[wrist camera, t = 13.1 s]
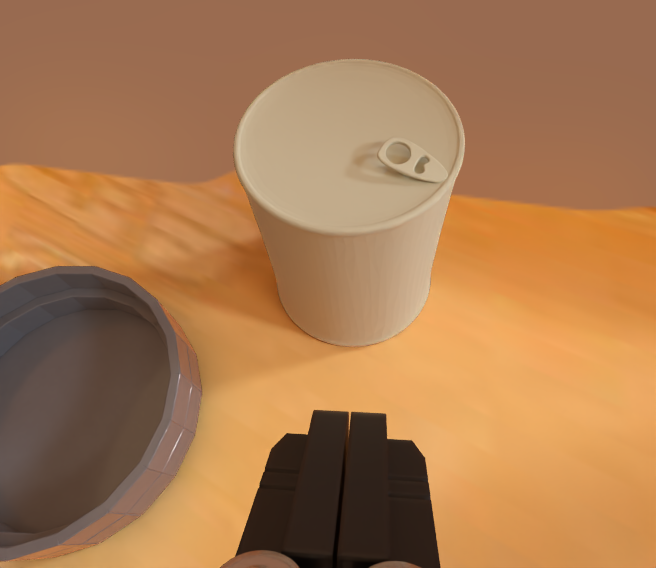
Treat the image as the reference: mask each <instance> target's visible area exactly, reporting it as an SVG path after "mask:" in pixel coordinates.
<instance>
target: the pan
mask: <svg viewBox="0 0 656 568" xmlns="http://www.w3.org/2000/svg"><path fill="white" fill-rule="evenodd" d="M201 392H202V388H201V381H200V375H199V368H198V362H197V356H196V353H195V351H194V350H193V348H192V346H191V344H190V342H189V341H188V339H187V337H186V335H185V333H184V332H183V330H182V328H181V326H180V325H179V324H178V323H177V322H176V320H175V319H174V318H173V317H172V316H171V315H170V314H169V313H168V311H167V310H166V309H165V308H164V307H163V306H162V305H161V304H160V302H159V301H158V300H157V299H156V298H155V297H153V296H152V295H151V294H150V293H148V292H147V291H146V290H145V289H143V288H142V287H141V286H140V285H139V284H137V283H136V282H135V281H134V280H132V279H131V278H129V277H126V276H123V275H120V274H117V273H114V272H111V271H108V270H105V269H102V268H99V267H95V266H56V267H52V268H48V269H44V270H41V271H37V272H33V273H29V274H25V275H22V276H18V277H15V278H13V279H12V280H10V281H8V282H6V283H4V284H2V285H0V561H17V560H30V559H42V558H54V557H58V556H61V555H65V554H68V553H71V552H74V551H78V550H81V549H84V548H88V547H91V546H94V545H97V544H99V543H101V542H103V541H104V540H106V539H107V538H109V537H110V536H112V535H113V534H115V533H116V532H118V531H119V530H121V529H122V528H124V527H125V526H127V525H128V524H130V523H131V522H133V521H134V520H136V519H137V518H139V517H140V516H141V515H143V514H144V513H145V511H146V510H147V509H148V508H149V507H150V506H151V504H152V503H153V502H154V501H155V500H156V499H157V497H158V496H159V495H160V494H161V493H162V492H163V490H164V489H165V488H166V487H167V486H168V485H169V483H170V482H171V481H172V480H173V479H174V476H176V474H177V472H178V470H179V467H180V465H181V463H182V461H183V459H184V457H185V455H186V453H187V451H188V449H189V446H190V444H191V442H192V440H193V438H194V436H195V432H196V426H197V420H198V414H199V408H200V402H201V396H202V393H201Z"/></svg>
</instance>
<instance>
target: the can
mask: <svg viewBox="0 0 656 568" xmlns="http://www.w3.org/2000/svg"><path fill="white" fill-rule="evenodd" d="M464 150H465V136H464V131H463V126H462V123H461V120H460V117H459V115H458V113H457V111H456V109H455V107H454V106H453V104H452V103H451V102H450V100H449V99H448V98H447V96H446V95H445V94H444V93H443V92H442V91H441V90H440V89H439V88H438V87H436V86H435V85H434V84H433V83H431V82H430V81H428V80H427V79H425V78H424V77H422V76H421V75H418V74H416V73H415V72H413V71H411V70H408V69H405V68H403V67H400V66H397V65H394V64H390V63H386V62H381V61H374V60H365V59H344V60H333V61H327V62H322V63H318V64H314V65H311V66H308V67H304V68H302V69H299V70H296V71H294V72H292V73H290V74H287V75H286V76H284V77H282V78H280V79H279V80H277V81H276V82H274V83H273V84H271V85H270V86H268V87H267V88H266V89H265V90H263V91H262V92H261V93H260V94H259V95H258V96H257V97H256V98H255V99H254V100H253V102H252V103H251V104H250V105H249V107H248V108H247V109H246V111H245V113H244V114H243V116H242V118H241V120H240V122H239V124H238V127H237V130H236V133H235V137H234V144H233V158H234V165H235V169H236V173H237V175H238V178H239V180H240V182H241V184H242V186H243V188H244V189H245V192H246V194H247V197H248V199H249V202H250V205H251V208H252V210H253V213H254V216H255V218H256V221H257V224H258V227H259V229H260V232H261V235H262V238H263V241H264V244H265V247H266V250H267V253H268V256H269V259H270V261H271V264H272V267H273V270H274V273H275V276H276V280H277V289H278V294H279V297H280V300H281V303H282V305H283V307H284V309H285V311H286V312H287V314H288V315H289V317H290V318H291V319H292V321H293V322H294V323H295V324H296V325H297V326H298V327H300V328H301V329H302V330H303V331H305V332H306V333H308V334H309V335H311V336H312V337H314V338H316V339H319V340H321V341H324V342H326V343H330V344H333V345H339V346H347V347H358V346H367V345H372V344H376V343H379V342H382V341H385V340H387V339H389V338H391V337H393V336H395V335H397V334H398V333H400V332H401V331H403V330H404V329H405V328H406V327H408V326H409V325H410V324H411V323H412V322H413V321H414V320H415V318H416V317H417V316H418V315H419V313H420V312H421V310H422V308H423V306H424V304H425V302H426V300H427V297H428V294H429V290H430V283H431V269H432V265H433V261H434V257H435V253H436V249H437V245H438V241H439V237H440V233H441V230H442V226H443V222H444V218H445V215H446V211H447V207H448V204H449V200H450V197H451V193H452V189H453V186H454V183H455V179H456V177H457V176H458V173H459V171H460V168H461V165H462V162H463V157H464Z"/></svg>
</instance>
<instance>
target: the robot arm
mask: <svg viewBox="0 0 656 568" xmlns="http://www.w3.org/2000/svg"><path fill="white" fill-rule="evenodd" d="M220 568H440V561H439V554H438V547H437V540H436V533H435V526H434V518H433V511H432V504H431V500H430V490H429V483H428V476H427V469H426V462H425V457H424V456H423V455H422V453H421V452H420V451H419V449H418V448H417V447H416V445H415V444H414V443H413V441H411V440H394V439H387V425H386V414H382V413H363V412H351V420H350V430H349V412H342V411H323V410H314V411H313V415H312V419H311V423H310V428H309V432H308V435H306V434H289V433H287V434H286V435H285V436H284V437H283V438H282V439H281V440H280V441H279V442H278V443H277V444H276V445H275V446H274V447H273V448H272V449H271V452H270V455H269V458H268V461H267V464H266V467H265V472H264V473H263V476H262V479H261V481H260V487H259V488H258V490H257V493H256V496H255V499H254V502H253V505H252V508H251V511H250V514H249V517H248V520H247V523H246V526H245V529H244V532H243V535H242V538H241V541H240V544H239V547H238V550H237V553H236V555H235V557H234V558H232V559H230V560H229V561H228V562H226V563H225V564H223V565H222V566H221V567H220Z"/></svg>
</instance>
